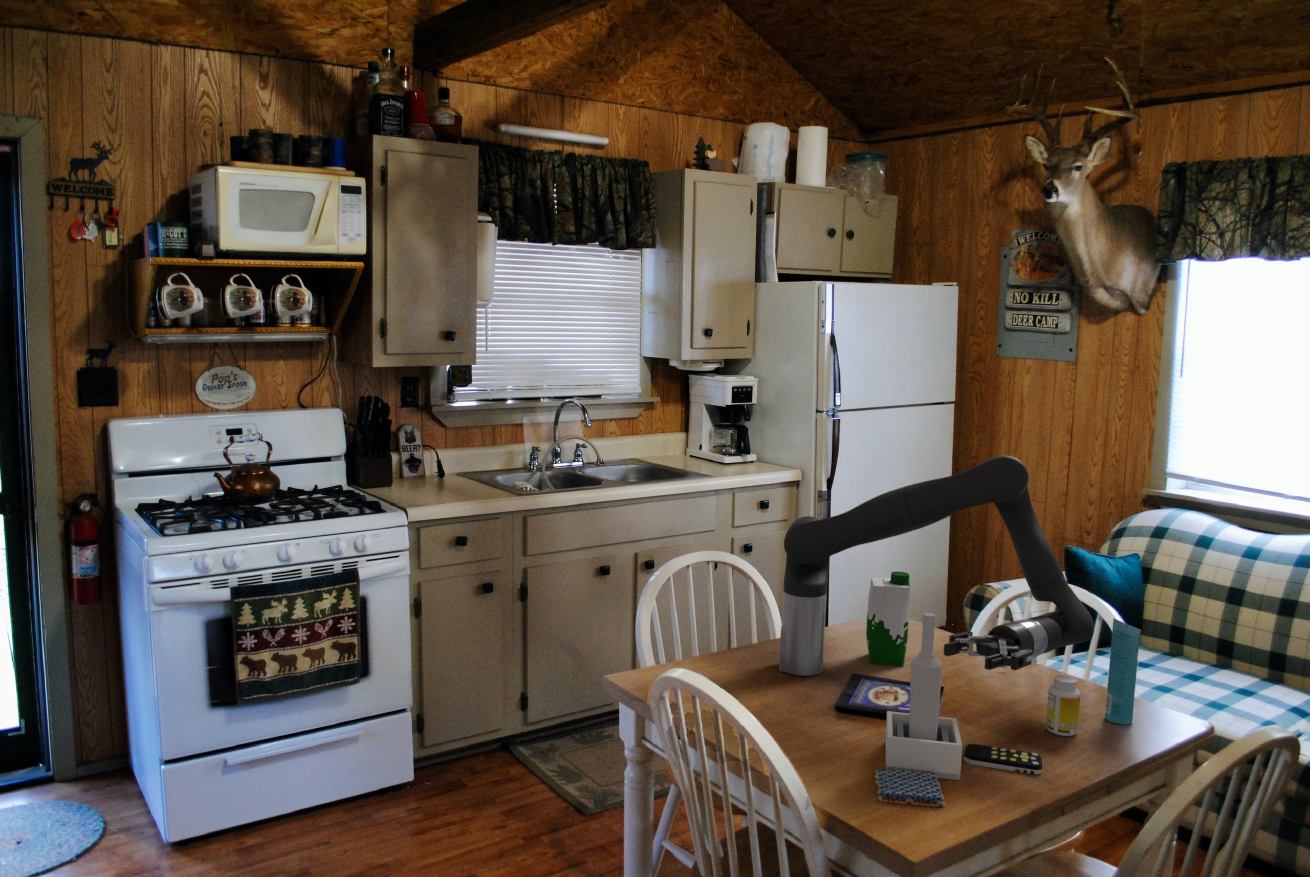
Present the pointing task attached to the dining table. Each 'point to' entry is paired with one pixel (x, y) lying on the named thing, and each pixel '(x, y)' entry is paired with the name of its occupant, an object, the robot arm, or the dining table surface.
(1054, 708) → the supplement bottle
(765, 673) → the dining table surface
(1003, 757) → the remote control
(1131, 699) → the tube
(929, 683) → the bottle
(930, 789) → the woven mat
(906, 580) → the milk carton
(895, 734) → the walled box
